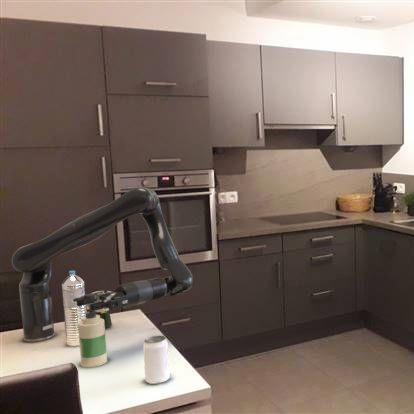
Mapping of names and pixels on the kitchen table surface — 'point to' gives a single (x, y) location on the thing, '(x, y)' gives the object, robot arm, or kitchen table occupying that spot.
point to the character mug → (103, 314)
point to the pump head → (87, 299)
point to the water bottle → (73, 307)
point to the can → (156, 359)
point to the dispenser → (92, 340)
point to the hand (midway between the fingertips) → (83, 305)
